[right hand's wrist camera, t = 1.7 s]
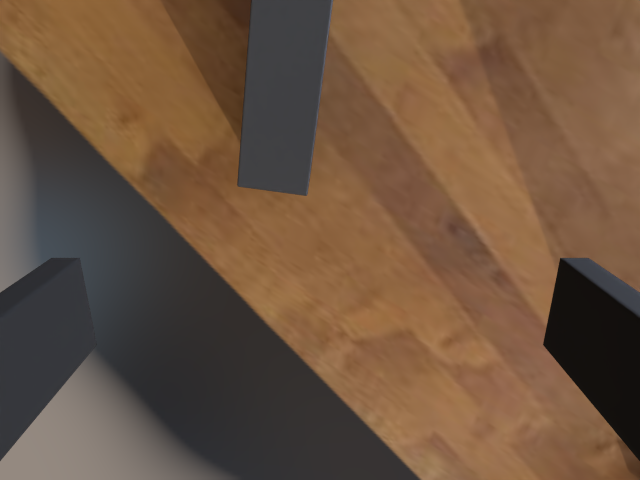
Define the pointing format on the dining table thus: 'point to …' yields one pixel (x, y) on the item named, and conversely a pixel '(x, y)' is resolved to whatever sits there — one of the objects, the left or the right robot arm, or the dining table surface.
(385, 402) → the dining table surface
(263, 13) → the beam
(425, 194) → the dining table surface
